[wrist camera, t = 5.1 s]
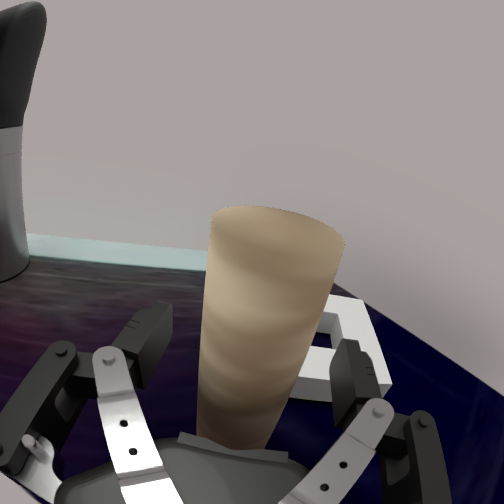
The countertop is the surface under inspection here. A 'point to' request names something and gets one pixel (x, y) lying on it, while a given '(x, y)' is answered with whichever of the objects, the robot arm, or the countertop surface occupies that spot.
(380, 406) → the robot arm
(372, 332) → the socket plate
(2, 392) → the countertop surface
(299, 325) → the peg
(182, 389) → the countertop surface
